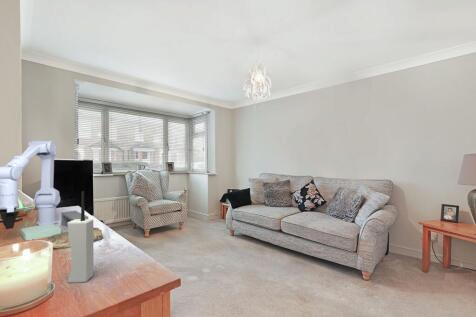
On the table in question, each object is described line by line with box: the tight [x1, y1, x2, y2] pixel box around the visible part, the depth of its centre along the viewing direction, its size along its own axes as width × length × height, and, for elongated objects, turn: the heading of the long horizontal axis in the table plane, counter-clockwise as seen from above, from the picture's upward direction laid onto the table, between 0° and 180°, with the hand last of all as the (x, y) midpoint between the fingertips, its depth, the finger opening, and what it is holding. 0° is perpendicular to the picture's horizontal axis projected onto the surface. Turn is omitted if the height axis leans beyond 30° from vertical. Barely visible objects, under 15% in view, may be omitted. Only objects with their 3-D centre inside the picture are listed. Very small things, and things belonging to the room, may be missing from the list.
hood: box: [60, 210, 89, 226], centre depth 116 cm, size 21×6×6 cm, turn 49°
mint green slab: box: [20, 223, 62, 241], centre depth 106 cm, size 14×12×3 cm
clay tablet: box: [44, 227, 104, 250], centre depth 96 cm, size 14×5×20 cm
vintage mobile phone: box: [67, 191, 95, 284], centre depth 66 cm, size 4×5×25 cm
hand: (8, 226), depth 98 cm, fingers open, 7 cm apart
